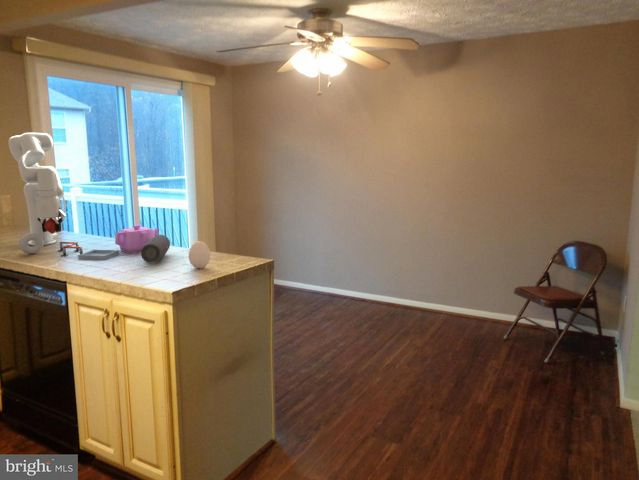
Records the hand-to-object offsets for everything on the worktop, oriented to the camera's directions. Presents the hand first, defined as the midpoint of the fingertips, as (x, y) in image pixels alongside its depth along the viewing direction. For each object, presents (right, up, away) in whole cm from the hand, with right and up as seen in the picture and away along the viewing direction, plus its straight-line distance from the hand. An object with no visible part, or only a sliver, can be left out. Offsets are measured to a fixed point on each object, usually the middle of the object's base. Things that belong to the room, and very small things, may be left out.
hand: (52, 231), depth 221 cm
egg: (+78, -16, -29) cm, 85 cm away
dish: (+27, -12, -10) cm, 31 cm away
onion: (0, -1, 0) cm, 1 cm away
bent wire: (+11, -10, -4) cm, 16 cm away
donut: (-6, -11, -5) cm, 14 cm away
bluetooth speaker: (+55, -13, -15) cm, 59 cm away
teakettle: (+39, -9, +6) cm, 41 cm away
